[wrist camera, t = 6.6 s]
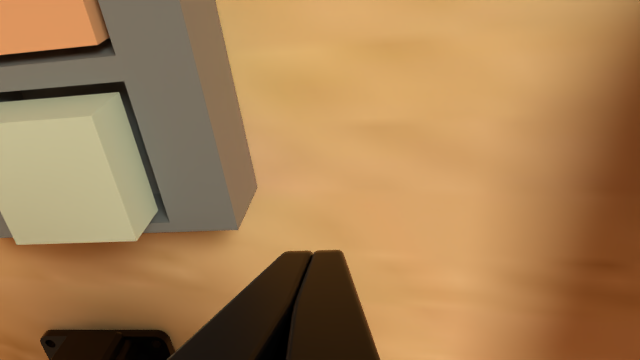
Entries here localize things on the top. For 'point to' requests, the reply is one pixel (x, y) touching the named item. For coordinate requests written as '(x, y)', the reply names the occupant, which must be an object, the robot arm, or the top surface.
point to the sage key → (72, 171)
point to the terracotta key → (50, 25)
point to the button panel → (159, 105)
